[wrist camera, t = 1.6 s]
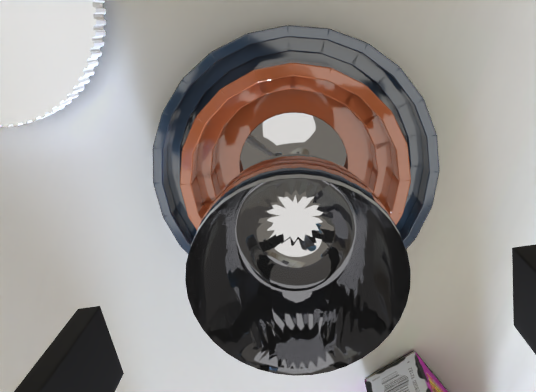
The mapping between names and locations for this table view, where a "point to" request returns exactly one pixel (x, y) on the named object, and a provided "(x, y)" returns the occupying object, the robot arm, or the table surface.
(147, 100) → the table surface
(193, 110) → the serving bowl
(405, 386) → the candy bar box
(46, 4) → the plastic lid
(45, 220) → the table surface
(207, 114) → the small bowl
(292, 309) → the wine glass
